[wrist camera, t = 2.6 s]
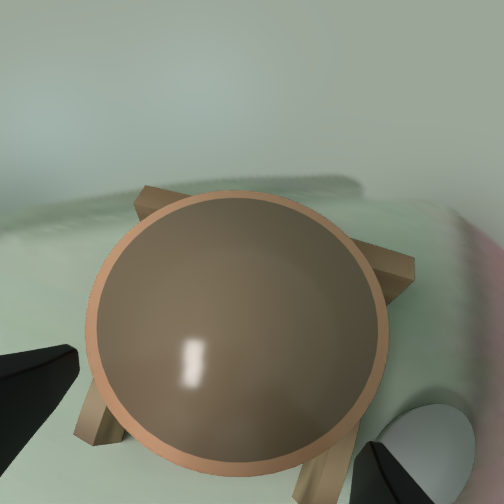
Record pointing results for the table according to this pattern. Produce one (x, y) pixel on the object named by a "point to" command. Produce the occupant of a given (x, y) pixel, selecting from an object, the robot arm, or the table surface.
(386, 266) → the wooden cradle holder
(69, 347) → the robot arm
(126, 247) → the terracotta pot
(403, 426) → the grey saucer
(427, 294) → the table surface
